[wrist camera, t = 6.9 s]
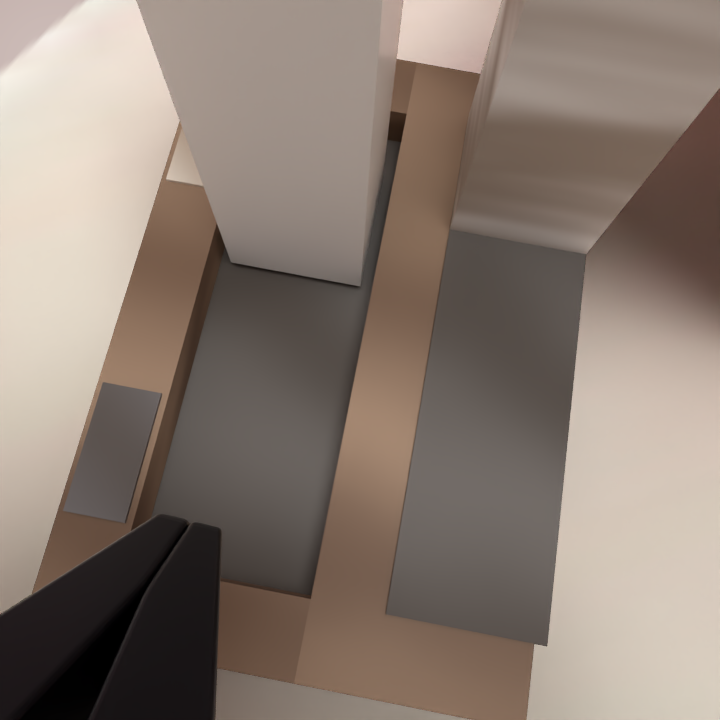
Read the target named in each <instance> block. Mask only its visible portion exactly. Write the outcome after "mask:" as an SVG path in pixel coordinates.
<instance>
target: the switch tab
mask: <svg viewBox="0 0 720 720" xmlns="http://www.w3.org/2000/svg"><path fill="white" fill-rule="evenodd" d="M136 1H137V4H138V6H139V9H140V12H141V15H142V17H143V20H144V23H145V26H146V28H147V31H148V34H149V37H150V40H151V42H152V45H153V48H154V51H155V53H156V56H157V59H158V62H159V64H160V67H161V70H162V73H163V76H164V78H165V81H166V84H167V87H168V89H169V92H170V95H171V98H172V100H173V103H174V106H175V109H176V112H177V114H178V117H179V120H180V123H181V125H182V128H183V131H184V134H185V136H186V139H187V142H188V145H189V147H190V150H191V153H192V156H193V159H194V161H195V164H196V167H197V170H198V172H199V175H200V178H201V181H202V183H203V186H204V189H205V192H206V195H207V197H208V200H209V203H210V206H211V208H212V211H213V214H214V217H215V219H216V222H217V225H218V228H219V231H220V233H221V236H222V239H223V242H224V244H225V247H226V250H227V253H228V255H229V258H230V261H231V262H232V263H237V264H243V265H248V266H253V267H259V268H264V269H269V270H275V271H280V272H285V273H291V274H296V275H302V276H307V277H312V278H318V279H323V280H328V281H334V282H339V283H344V284H350V285H355V286H361V281H362V276H363V271H364V266H365V261H366V256H367V251H368V246H369V241H370V237H371V232H372V227H373V222H374V217H375V212H376V207H377V202H378V197H379V192H380V188H381V183H382V178H383V173H384V164H385V155H386V147H387V138H388V129H389V120H390V112H391V103H392V94H393V86H394V77H395V68H396V59H397V51H398V42H399V33H400V24H401V16H402V7H403V0H136Z"/></svg>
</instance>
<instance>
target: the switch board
mask: <svg viewBox="0 0 720 720" xmlns="http://www.w3.org/2000/svg"><path fill="white" fill-rule="evenodd" d="M719 88H720V0H502V3H501V6H500V9H499V13H498V16H497V20H496V23H495V27H494V30H493V33H492V37H491V40H490V44H489V47H488V51H487V54H486V58H485V61H484V64H483V68H482V71H481V74H478V73H472V72H466V71H461V70H455V69H450V68H444V67H438V66H433V65H427V64H421V63H416V62H410V61H405V60H399V59H396V68H395V77H394V86H393V94H392V103H391V112H390V120H389V129H388V138H387V147H386V155H385V164H384V173H383V178H382V183H381V188H380V192H379V197H378V202H377V207H376V212H375V217H374V222H373V227H372V232H371V237H370V241H369V246H368V251H367V256H366V261H365V266H364V271H363V276H362V281H361V286H355V285H350V284H344V283H339V282H334V281H328V280H323V279H318V278H312V277H307V276H302V275H296V274H291V273H285V272H280V271H275V270H269V269H264V268H259V267H253V266H248V265H243V264H237V263H232V262H231V261H230V258H229V255H228V253H227V250H226V247H225V244H224V242H223V239H222V236H221V233H220V231H219V228H218V225H217V222H216V219H215V217H214V214H213V211H212V208H211V206H210V203H209V200H208V197H207V195H206V192H205V189H204V186H203V183H202V181H201V178H200V175H199V172H198V170H197V167H196V164H195V161H194V159H193V156H192V153H191V150H190V147H189V145H188V142H187V139H186V136H185V134H184V131H183V128H182V125H181V123H180V122H179V125H178V128H177V131H176V134H175V138H174V141H173V144H172V147H171V150H170V154H169V157H168V160H167V163H166V166H165V170H164V173H163V176H162V179H161V182H160V186H159V189H158V192H157V195H156V198H155V202H154V205H153V208H152V211H151V214H150V218H149V221H148V224H147V227H146V230H145V234H144V237H143V240H142V243H141V246H140V250H139V253H138V256H137V259H136V262H135V266H134V269H133V272H132V275H131V278H130V282H129V285H128V288H127V291H126V294H125V298H124V301H123V304H122V307H121V310H120V313H119V317H118V320H117V323H116V326H115V329H114V333H113V336H112V339H111V342H110V345H109V349H108V352H107V355H106V358H105V361H104V365H103V368H102V371H101V374H100V377H99V381H98V384H97V387H96V390H95V393H94V397H93V400H92V403H91V406H90V409H89V413H88V416H87V419H86V422H85V425H84V429H83V432H82V435H81V438H80V441H79V445H78V448H77V451H76V454H75V457H74V461H73V464H72V467H71V470H70V473H69V477H68V480H67V483H66V486H65V489H64V493H63V496H62V499H61V502H60V505H59V509H58V512H57V515H56V518H55V521H54V525H53V528H52V531H51V534H50V537H49V541H48V544H47V547H46V550H45V553H44V556H43V560H42V563H41V566H40V569H39V572H38V576H37V579H36V582H35V585H34V588H33V592H32V594H33V593H34V592H36V591H38V590H39V589H41V588H42V587H44V586H45V585H47V584H49V583H50V582H52V581H53V580H55V579H56V578H58V577H60V576H61V575H63V574H64V573H66V572H67V571H69V570H71V569H72V568H74V567H75V566H77V565H78V564H80V563H82V562H83V561H85V560H86V559H88V558H89V557H91V556H93V555H94V554H96V553H97V552H99V551H100V550H102V549H104V548H105V547H107V546H108V545H110V544H111V543H113V542H115V541H116V540H118V539H119V538H121V537H122V536H124V535H126V534H127V533H129V532H130V531H132V530H133V529H135V528H137V527H138V526H140V525H141V524H143V523H144V522H146V521H148V520H149V519H151V518H152V517H154V516H156V515H159V514H166V515H171V516H175V517H179V518H183V519H186V520H188V521H189V523H190V524H191V523H193V522H199V523H203V524H207V525H211V526H215V527H219V528H220V529H221V530H222V552H221V579H220V606H219V632H218V659H217V668H219V669H224V670H229V671H234V672H239V673H244V674H249V675H254V676H259V677H264V678H269V679H274V680H279V681H284V682H289V683H294V684H299V685H304V686H309V687H313V688H318V689H323V690H328V691H333V692H338V693H343V694H348V695H353V696H358V697H363V698H368V699H373V700H378V701H383V702H388V703H393V704H398V705H403V706H407V707H412V708H417V709H422V710H427V711H432V712H437V713H442V714H447V715H452V716H457V717H462V718H467V719H472V720H526V717H527V708H528V698H529V688H530V679H531V669H532V660H533V650H534V644H538V645H543V646H547V642H548V632H549V622H550V612H551V602H552V592H553V582H554V572H555V562H556V552H557V542H558V531H559V521H560V511H561V501H562V491H563V481H564V471H565V461H566V451H567V441H568V431H569V421H570V411H571V401H572V391H573V381H574V370H575V360H576V350H577V340H578V330H579V320H580V310H581V300H582V290H583V280H584V270H585V260H586V254H587V253H588V251H589V250H590V249H591V248H592V246H593V245H594V244H595V243H596V241H597V240H598V239H599V238H600V236H601V235H602V234H603V233H604V231H605V230H606V229H607V228H608V226H609V225H610V224H611V223H612V221H613V220H614V219H615V218H616V216H617V215H618V214H619V213H620V212H621V210H622V209H623V208H624V207H625V205H626V204H627V203H628V202H629V200H630V199H631V198H632V197H633V195H634V194H635V193H636V192H637V190H638V189H639V188H640V187H641V185H642V184H643V183H644V182H645V180H646V179H647V178H648V177H649V175H650V174H651V173H652V172H653V170H654V169H655V168H656V167H657V166H658V164H659V163H660V162H661V161H662V159H663V158H664V157H665V156H666V154H667V153H668V152H669V151H670V149H671V148H672V147H673V146H674V144H675V143H676V142H677V141H678V139H679V138H680V137H681V136H682V134H683V133H684V132H685V131H686V129H687V128H688V127H689V126H690V124H691V123H692V122H693V121H694V120H695V118H696V117H697V116H698V115H699V113H700V112H701V111H702V110H703V108H704V107H705V106H706V105H707V103H708V102H709V101H710V100H711V98H712V97H713V96H714V95H715V93H716V92H717V91H718V90H719Z"/></svg>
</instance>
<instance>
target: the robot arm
mask: <svg viewBox="0 0 720 720" xmlns="http://www.w3.org/2000/svg"><path fill="white" fill-rule="evenodd" d="M221 552H222V530H221V529H220V528H219V527H215V526H211V525H207V524H203V523H199V522H193V523H191V524H190V523H189V521H188V520H186V519H183V518H179V517H175V516H171V515H166V514H159V515H156V516H154V517H152V518H151V519H149V520H148V521H146V522H144V523H143V524H141V525H140V526H138V527H137V528H135V529H133V530H132V531H130V532H129V533H127V534H126V535H124V536H122V537H121V538H119V539H118V540H116V541H115V542H113V543H111V544H110V545H108V546H107V547H105V548H104V549H102V550H100V551H99V552H97V553H96V554H94V555H93V556H91V557H89V558H88V559H86V560H85V561H83V562H82V563H80V564H78V565H77V566H75V567H74V568H72V569H71V570H69V571H67V572H66V573H64V574H63V575H61V576H60V577H58V578H56V579H55V580H53V581H52V582H50V583H49V584H47V585H45V586H44V587H42V588H41V589H39V590H38V591H36V592H34V593H33V594H31V595H30V596H28V597H27V598H25V599H23V600H22V601H20V602H19V603H17V604H16V605H14V606H12V607H11V608H9V609H8V610H6V611H5V612H3V613H1V614H0V720H215V712H216V686H217V659H218V632H219V606H220V579H221Z"/></svg>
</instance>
